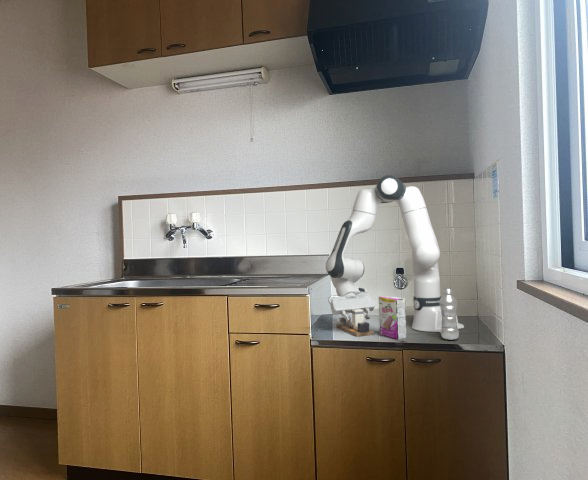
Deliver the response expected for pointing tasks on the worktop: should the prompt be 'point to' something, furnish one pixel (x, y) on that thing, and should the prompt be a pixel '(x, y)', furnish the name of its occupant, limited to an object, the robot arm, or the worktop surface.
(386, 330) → the candy bar box
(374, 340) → the worktop surface
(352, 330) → the rail board
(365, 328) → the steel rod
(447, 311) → the plastic bottle
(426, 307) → the robot arm
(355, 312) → the grey-banded white pillar
